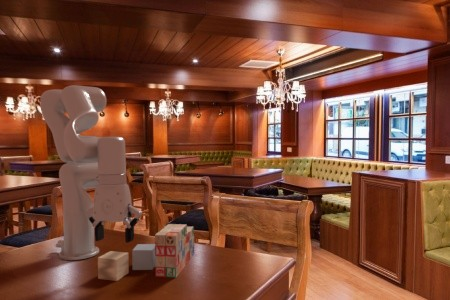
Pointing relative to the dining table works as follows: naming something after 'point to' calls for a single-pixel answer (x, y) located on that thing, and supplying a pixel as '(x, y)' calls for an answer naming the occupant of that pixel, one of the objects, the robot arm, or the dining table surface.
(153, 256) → the bluegrey block
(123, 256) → the maple cube
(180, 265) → the stack of blocks
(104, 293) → the dining table surface
